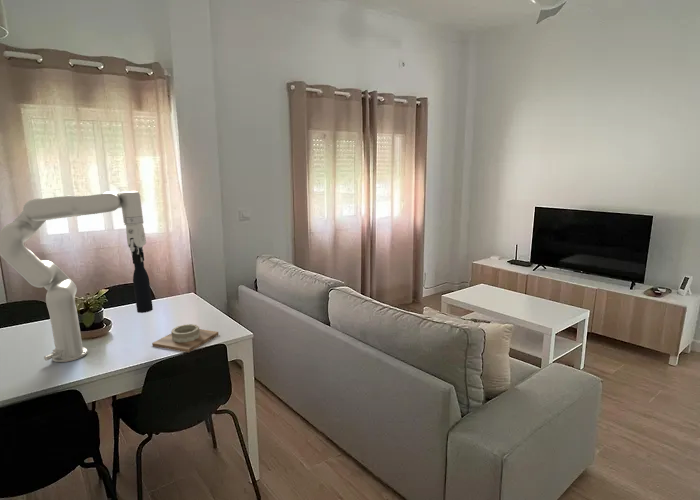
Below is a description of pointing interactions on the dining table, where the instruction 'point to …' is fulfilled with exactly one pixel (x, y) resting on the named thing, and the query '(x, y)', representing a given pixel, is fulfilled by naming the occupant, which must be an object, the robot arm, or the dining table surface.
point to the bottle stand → (185, 338)
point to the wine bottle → (142, 287)
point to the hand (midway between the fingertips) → (138, 261)
